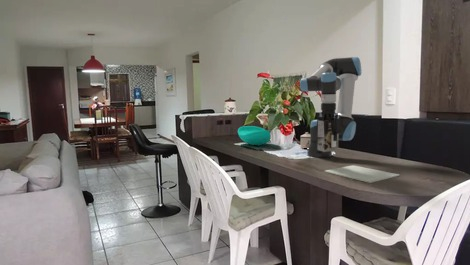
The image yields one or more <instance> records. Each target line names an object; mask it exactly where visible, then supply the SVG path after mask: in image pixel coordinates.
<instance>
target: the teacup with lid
mask: <svg viewBox="0 0 470 265" xmlns="http://www.w3.org/2000/svg"><path fill="white" fill-rule="evenodd" d="M309 146H310V133H309V132H308V131H307V132H306V131H305V133H304V134H302V135H300V149H301V148H309Z"/></svg>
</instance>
